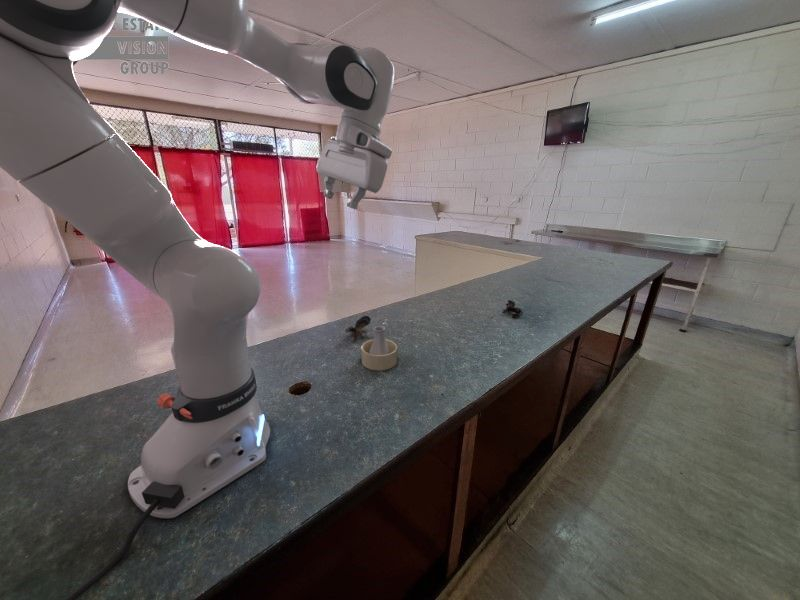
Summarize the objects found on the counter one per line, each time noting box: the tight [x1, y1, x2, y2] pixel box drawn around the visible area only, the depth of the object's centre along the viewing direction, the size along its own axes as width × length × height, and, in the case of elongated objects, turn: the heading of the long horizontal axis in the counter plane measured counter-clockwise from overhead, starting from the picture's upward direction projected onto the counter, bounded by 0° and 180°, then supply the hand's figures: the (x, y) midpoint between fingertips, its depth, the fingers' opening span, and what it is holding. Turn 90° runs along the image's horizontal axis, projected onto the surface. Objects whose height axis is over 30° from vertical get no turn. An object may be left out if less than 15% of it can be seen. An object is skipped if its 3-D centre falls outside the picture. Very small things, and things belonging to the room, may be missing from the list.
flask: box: [369, 325, 390, 355], centre depth 88 cm, size 7×7×10 cm
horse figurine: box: [490, 299, 524, 319], centre depth 123 cm, size 9×4×15 cm
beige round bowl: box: [360, 338, 398, 372], centre depth 89 cm, size 10×10×4 cm
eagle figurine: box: [345, 315, 372, 343], centre depth 103 cm, size 8×7×9 cm
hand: (339, 202), depth 72 cm, fingers open, 8 cm apart
